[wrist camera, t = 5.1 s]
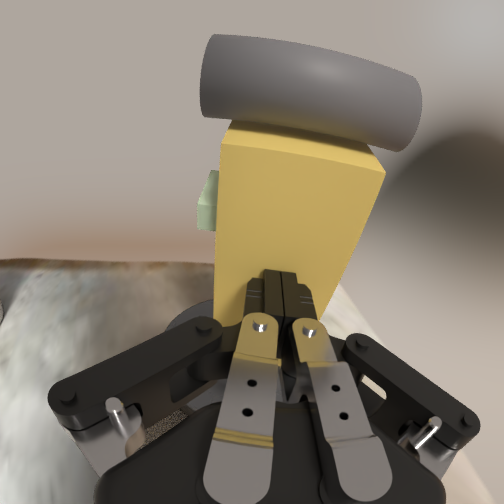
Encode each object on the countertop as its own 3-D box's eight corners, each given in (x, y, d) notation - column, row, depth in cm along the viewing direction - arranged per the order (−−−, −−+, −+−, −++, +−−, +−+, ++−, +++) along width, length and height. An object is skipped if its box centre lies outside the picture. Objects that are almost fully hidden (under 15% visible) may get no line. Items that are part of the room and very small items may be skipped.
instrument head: (302, 372, 21) (439, 88, 7) (200, 361, 21) (198, 34, 7) (301, 321, 25) (390, 67, 11) (210, 309, 25) (225, 34, 10)
